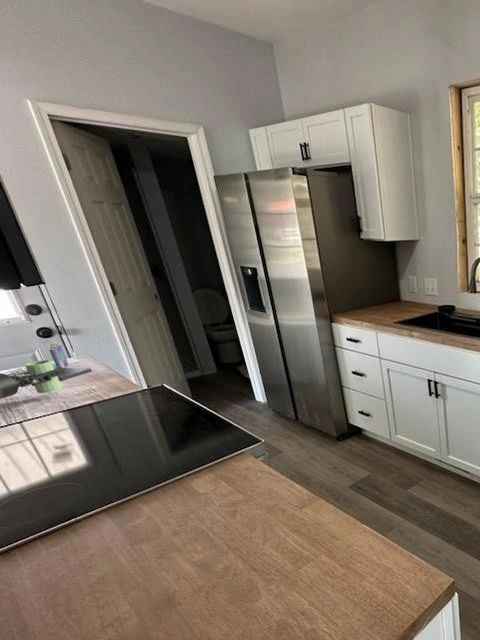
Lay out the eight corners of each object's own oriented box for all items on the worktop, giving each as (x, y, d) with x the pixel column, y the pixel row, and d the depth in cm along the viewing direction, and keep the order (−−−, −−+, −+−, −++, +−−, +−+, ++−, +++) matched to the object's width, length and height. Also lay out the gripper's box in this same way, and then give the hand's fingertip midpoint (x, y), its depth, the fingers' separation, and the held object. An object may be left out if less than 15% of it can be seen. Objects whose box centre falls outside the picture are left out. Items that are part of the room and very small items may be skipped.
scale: (32, 380, 161) (29, 373, 160) (63, 370, 171) (60, 364, 170) (62, 380, 160) (59, 373, 158) (92, 371, 170) (89, 364, 169)
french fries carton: (65, 369, 173) (54, 344, 169) (55, 370, 172) (44, 345, 168) (69, 363, 180) (59, 340, 176) (60, 365, 178) (49, 341, 175)
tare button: (45, 370, 164) (43, 366, 163) (53, 368, 166) (51, 364, 166) (51, 370, 163) (49, 366, 163) (59, 368, 166) (57, 364, 165)
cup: (32, 392, 141) (19, 365, 138) (52, 386, 147) (40, 359, 143) (47, 393, 141) (35, 365, 137) (66, 386, 146) (55, 360, 143)
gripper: (3, 378, 126) (64, 361, 142) (-37, 377, 128) (28, 360, 143) (14, 401, 129) (73, 381, 145) (-25, 399, 130) (37, 380, 146)
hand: (50, 371), depth 144 cm, fingers closed on cup, 6 cm apart
